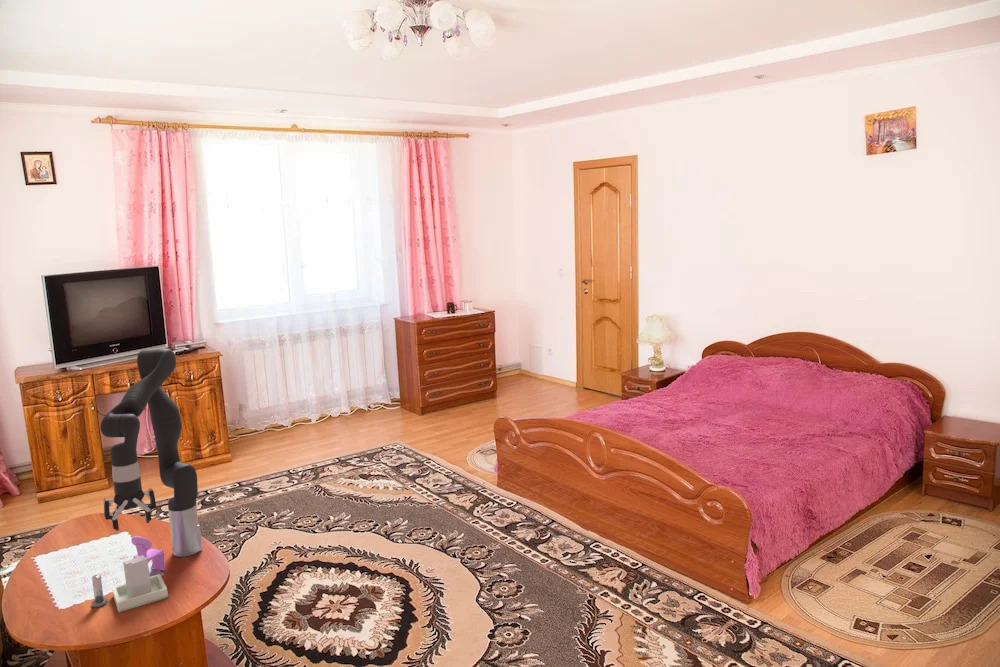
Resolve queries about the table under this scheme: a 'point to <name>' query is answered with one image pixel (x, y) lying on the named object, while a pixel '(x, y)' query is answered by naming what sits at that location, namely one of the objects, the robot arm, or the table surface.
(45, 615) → the table surface
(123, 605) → the tray
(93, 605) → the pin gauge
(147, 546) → the toy chair
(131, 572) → the skincare box
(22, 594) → the table surface
